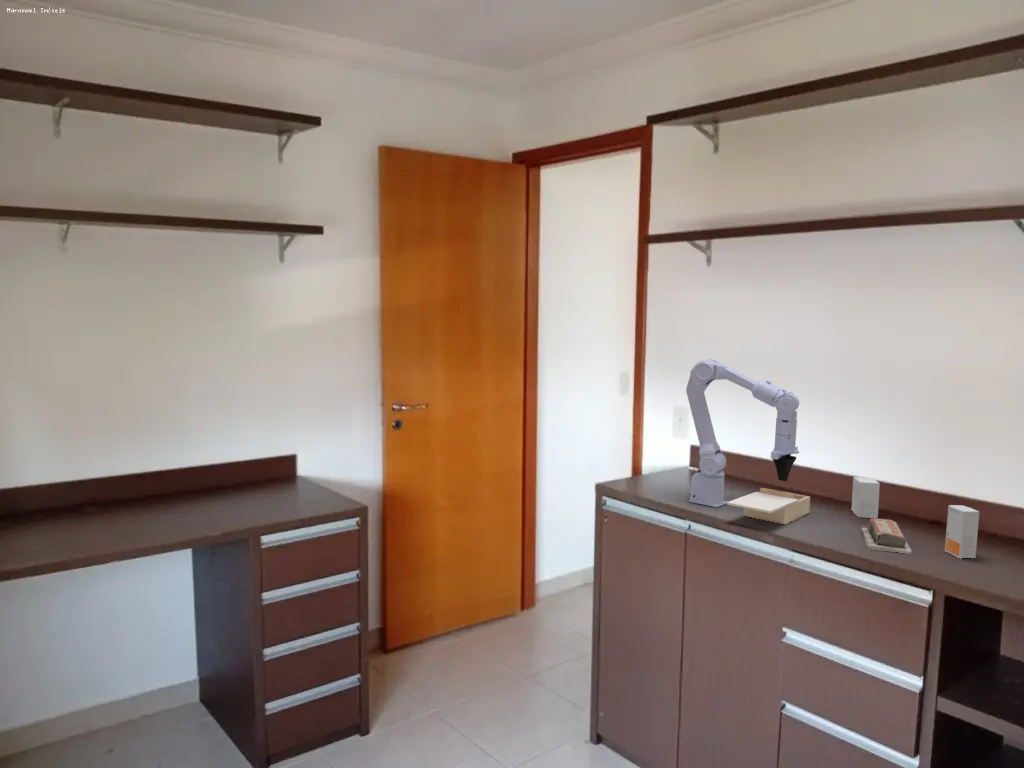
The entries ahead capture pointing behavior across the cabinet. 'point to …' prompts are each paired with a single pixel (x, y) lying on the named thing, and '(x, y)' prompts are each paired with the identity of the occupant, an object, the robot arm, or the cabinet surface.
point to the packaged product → (885, 536)
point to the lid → (765, 500)
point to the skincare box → (962, 531)
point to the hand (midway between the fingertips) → (782, 480)
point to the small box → (865, 497)
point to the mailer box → (783, 511)
